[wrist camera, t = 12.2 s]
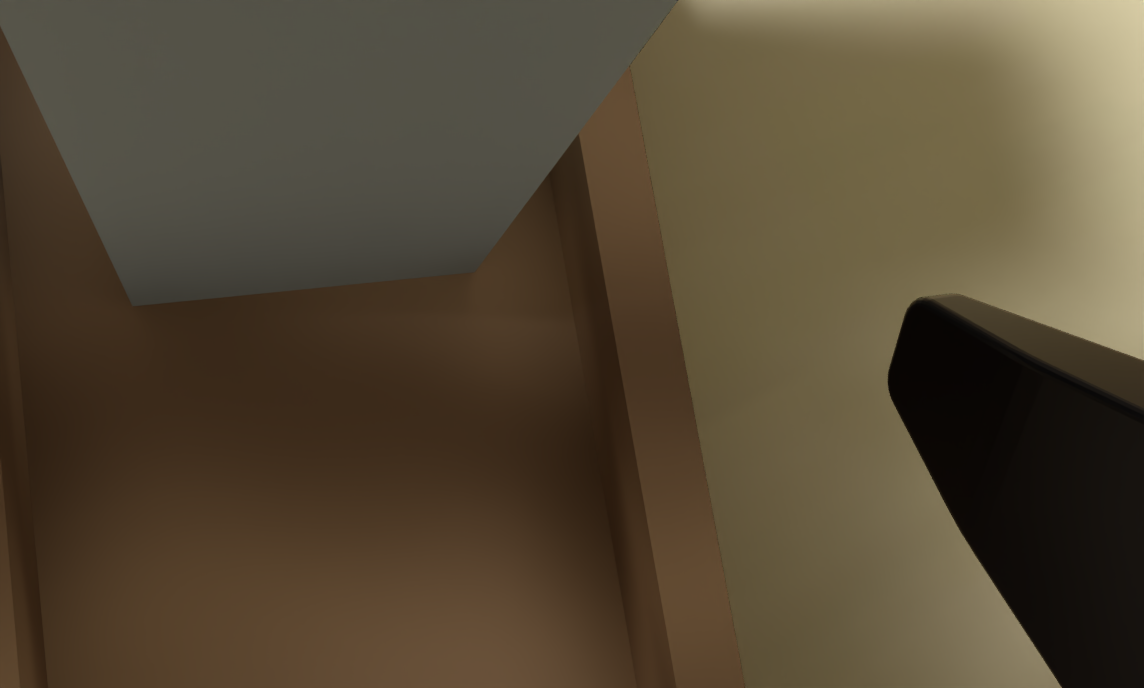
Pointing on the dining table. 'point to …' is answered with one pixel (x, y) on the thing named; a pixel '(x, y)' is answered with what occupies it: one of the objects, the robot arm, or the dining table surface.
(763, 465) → the dining table surface
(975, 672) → the dining table surface
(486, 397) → the wooden tray
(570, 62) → the slate post
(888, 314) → the dining table surface
